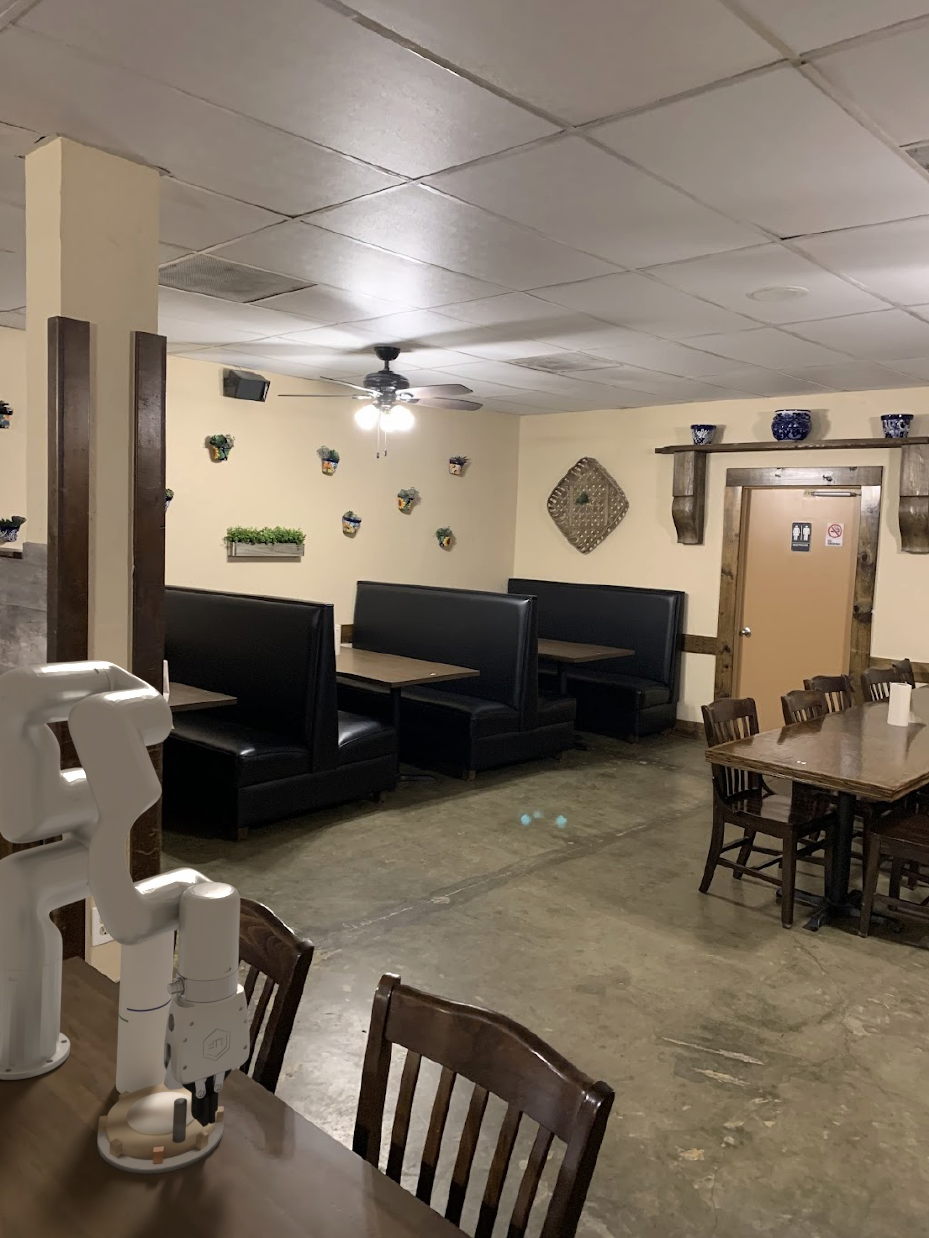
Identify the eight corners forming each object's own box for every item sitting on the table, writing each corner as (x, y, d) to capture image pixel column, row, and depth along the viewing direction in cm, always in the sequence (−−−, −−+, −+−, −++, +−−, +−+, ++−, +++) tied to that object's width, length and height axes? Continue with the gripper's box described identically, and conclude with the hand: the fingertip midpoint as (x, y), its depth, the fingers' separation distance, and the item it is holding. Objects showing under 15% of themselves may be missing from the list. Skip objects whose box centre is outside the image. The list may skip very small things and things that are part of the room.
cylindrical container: (151, 1100, 133) (158, 928, 131) (105, 1091, 134) (112, 921, 132) (177, 1073, 140) (184, 909, 138) (133, 1065, 141) (139, 902, 139)
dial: (87, 1112, 127) (89, 1066, 127) (196, 1080, 136) (198, 1037, 136) (121, 1176, 115) (123, 1125, 115) (238, 1136, 124) (240, 1089, 124)
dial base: (70, 1144, 122) (70, 1137, 122) (162, 1085, 136) (162, 1079, 136) (160, 1190, 115) (161, 1182, 115) (248, 1123, 129) (248, 1116, 129)
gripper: (163, 1009, 113) (160, 1156, 114) (274, 977, 123) (270, 1113, 124) (139, 986, 119) (136, 1126, 120) (246, 957, 129) (242, 1087, 130)
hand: (204, 1119), depth 122 cm, fingers closed
